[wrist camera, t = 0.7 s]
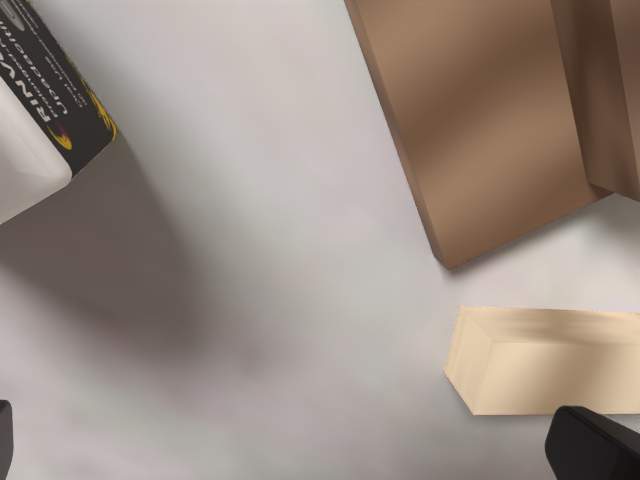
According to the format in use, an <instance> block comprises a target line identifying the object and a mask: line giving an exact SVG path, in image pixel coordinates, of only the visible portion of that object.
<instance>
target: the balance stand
mask: <svg viewBox="0 0 640 480" xmlns="http://www.w3.org/2000/svg"><path fill="white" fill-rule="evenodd" d="M344 2H345V4H346V7H347V10H348V13H349V16H350V19H351V21H352V24H353V27H354V30H355V33H356V36H357V38H358V41H359V44H360V47H361V50H362V53H363V56H364V58H365V61H366V64H367V67H368V70H369V73H370V75H371V78H372V81H373V84H374V87H375V90H376V92H377V95H378V98H379V101H380V104H381V107H382V110H383V112H384V115H385V118H386V121H387V124H388V127H389V129H390V132H391V135H392V138H393V141H394V144H395V146H396V149H397V152H398V155H399V158H400V161H401V163H402V166H403V169H404V172H405V175H406V178H407V181H408V183H409V186H410V189H411V192H412V195H413V198H414V200H415V203H416V206H417V209H418V212H419V215H420V217H421V220H422V223H423V226H424V229H425V232H426V234H427V237H428V240H429V243H430V246H431V249H432V252H433V254H434V257H435V258H437V259H438V260H439V261H440V262H441V263H442V264H443V265H444V266H445V267H446V268H447V269H448V270H449V269H451V268H453V267H455V266H458V265H460V264H462V263H464V262H466V261H468V260H471V259H473V258H475V257H477V256H479V255H481V254H484V253H486V252H488V251H490V250H492V249H494V248H496V247H499V246H501V245H503V244H505V243H507V242H509V241H512V240H514V239H516V238H518V237H520V236H522V235H525V234H527V233H529V232H531V231H533V230H535V229H537V228H540V227H542V226H544V225H546V224H548V223H550V222H553V221H555V220H557V219H559V218H561V217H563V216H566V215H568V214H570V213H572V212H574V211H576V210H578V209H581V208H583V207H585V206H587V205H589V204H591V203H594V202H596V201H598V200H600V199H602V198H604V197H607V196H609V195H611V194H613V193H618V194H621V195H623V196H626V197H629V198H631V199H634V200H637V201H639V202H640V0H344Z"/></svg>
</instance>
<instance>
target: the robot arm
mask: <svg viewBox="0 0 640 480" xmlns="http://www.w3.org/2000/svg"><path fill="white" fill-rule="evenodd" d="M545 453H546V457H547V459H548V461H549V463H550V465H551V468H552V470H553V472H554V474H555V476H556V478H557V480H640V434H639V433H637V432H635V431H633V430H631V429H629V428H627V427H625V426H623V425H621V424H619V423H617V422H615V421H613V420H611V419H609V418H606V417H604V416H602V415H600V414H598V413H596V412H594V411H592V410H590V409H588V408H586V407H583V406H579V405H563V406H560V407H558V409H557V410H556V411H555V413H554V416H553V420H552V423H551V426H550V429H549V432H548V435H547V438H546V441H545ZM12 457H13V421H12V407H11V404H10V402H9V401H7V400H0V480H6V477H7V474H8V471H9V468H10V465H11V461H12Z"/></svg>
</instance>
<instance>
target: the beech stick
mask: <svg viewBox="0 0 640 480" xmlns="http://www.w3.org/2000/svg"><path fill="white" fill-rule="evenodd" d="M444 373H445V374H446V376H447V377H448V378H449V380H450V381H451V383H452V384H453V386H454V387H455V389H456V390H457V391H458V393H459V394H460V396H461V397H462V399H463V400H464V402H465V403H466V404H467V406H468V407H469V409H470V410H471V412H472V413H473V415H534V414H554V413H555V411H556V410H557V409H558V407H560V406H563V405H579V406H583V407H586V408H588V409H590V410H592V411H594V412H596V413H598V414H640V313H626V312H602V311H577V310H552V309H528V308H503V307H478V306H460V307H459V312H458V316H457V320H456V324H455V328H454V332H453V336H452V340H451V344H450V349H449V353H448V357H447V361H446V365H445V369H444Z"/></svg>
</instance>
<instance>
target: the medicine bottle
mask: <svg viewBox="0 0 640 480" xmlns="http://www.w3.org/2000/svg"><path fill="white" fill-rule="evenodd" d="M116 137H117V129H116V126H115V125H114V123H113V122H112V120H111V119H110V118H109V116H108V115H107V113H106V112H105V111H104V109H103V108H102V106H101V105H100V103H99V102H98V101H97V99H96V98H95V96H94V95H93V93H92V92H91V91H90V89H89V88H88V86H87V85H86V84H85V82H84V81H83V79H82V78H81V76H80V75H79V74H78V72H77V71H76V69H75V68H74V67H73V65H72V64H71V62H70V61H69V59H68V58H67V57H66V55H65V54H64V52H63V51H62V49H61V48H60V47H59V45H58V44H57V42H56V41H55V40H54V38H53V37H52V35H51V34H50V32H49V31H48V30H47V28H46V27H45V25H44V24H43V23H42V21H41V20H40V18H39V17H38V15H37V14H36V13H35V11H34V10H33V8H32V7H31V5H30V4H29V3H28V1H27V0H0V224H2V223H4V222H6V221H7V220H9V219H11V218H12V217H14V216H16V215H17V214H19V213H21V212H23V211H24V210H26V209H28V208H29V207H31V206H33V205H34V204H36V203H38V202H40V201H41V200H43V199H45V198H46V197H48V196H50V195H51V194H53V193H55V192H57V191H58V190H60V189H62V188H63V187H65V186H66V185H67V184H68V183H69V182H70V181H72V180H73V179H74V178H75V177H76V176H77V175H78V174H79V173H80V172H81V171H82V170H83V169H84V168H85V167H86V166H87V165H88V164H89V163H90V162H91V161H92V160H93V159H94V158H95V157H96V156H98V155H99V154H100V153H101V152H102V151H103V150H104V149H105V148H106V147H107V146H108V145H109V144H110V143H111V142H112V141H113V140H114V139H115V138H116Z"/></svg>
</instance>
